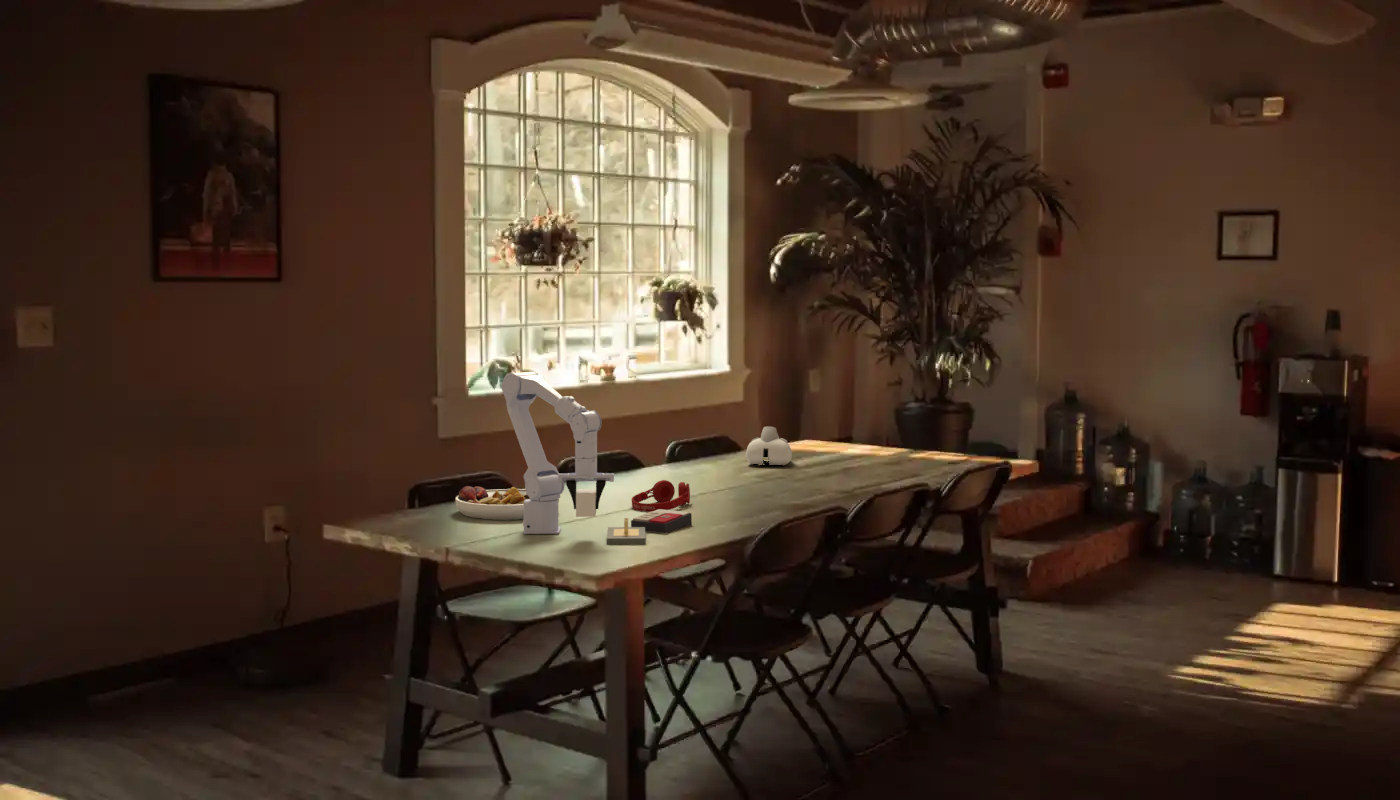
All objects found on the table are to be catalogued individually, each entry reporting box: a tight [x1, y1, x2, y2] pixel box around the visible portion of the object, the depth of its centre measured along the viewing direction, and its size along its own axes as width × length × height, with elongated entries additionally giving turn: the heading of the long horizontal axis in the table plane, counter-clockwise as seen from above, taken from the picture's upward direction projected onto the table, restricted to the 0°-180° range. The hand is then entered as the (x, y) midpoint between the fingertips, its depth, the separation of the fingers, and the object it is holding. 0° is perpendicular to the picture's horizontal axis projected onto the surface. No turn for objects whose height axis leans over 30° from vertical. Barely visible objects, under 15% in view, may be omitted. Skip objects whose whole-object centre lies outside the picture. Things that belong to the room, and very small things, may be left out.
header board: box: [606, 517, 646, 545], centre depth 360 cm, size 10×16×5 cm, turn 3°
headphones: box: [631, 479, 691, 512], centre depth 410 cm, size 15×7×20 cm
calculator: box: [630, 509, 693, 534], centre depth 376 cm, size 11×4×15 cm
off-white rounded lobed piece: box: [745, 426, 793, 466], centre depth 505 cm, size 22×23×15 cm
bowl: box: [454, 485, 560, 521], centre depth 399 cm, size 30×30×8 cm
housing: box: [575, 488, 597, 518], centre depth 358 cm, size 5×8×6 cm, turn 3°
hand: (586, 508), depth 359 cm, fingers closed on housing, 5 cm apart
